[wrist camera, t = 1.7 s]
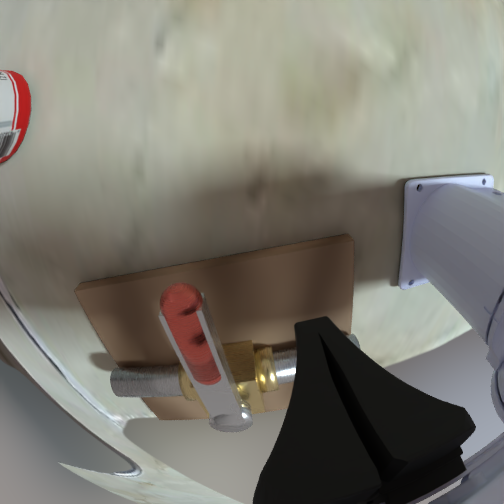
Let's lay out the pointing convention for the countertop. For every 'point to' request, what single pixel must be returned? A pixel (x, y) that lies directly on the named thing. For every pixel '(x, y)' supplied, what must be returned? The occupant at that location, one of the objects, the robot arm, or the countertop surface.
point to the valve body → (241, 365)
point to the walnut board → (226, 307)
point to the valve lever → (203, 356)
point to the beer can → (13, 112)
